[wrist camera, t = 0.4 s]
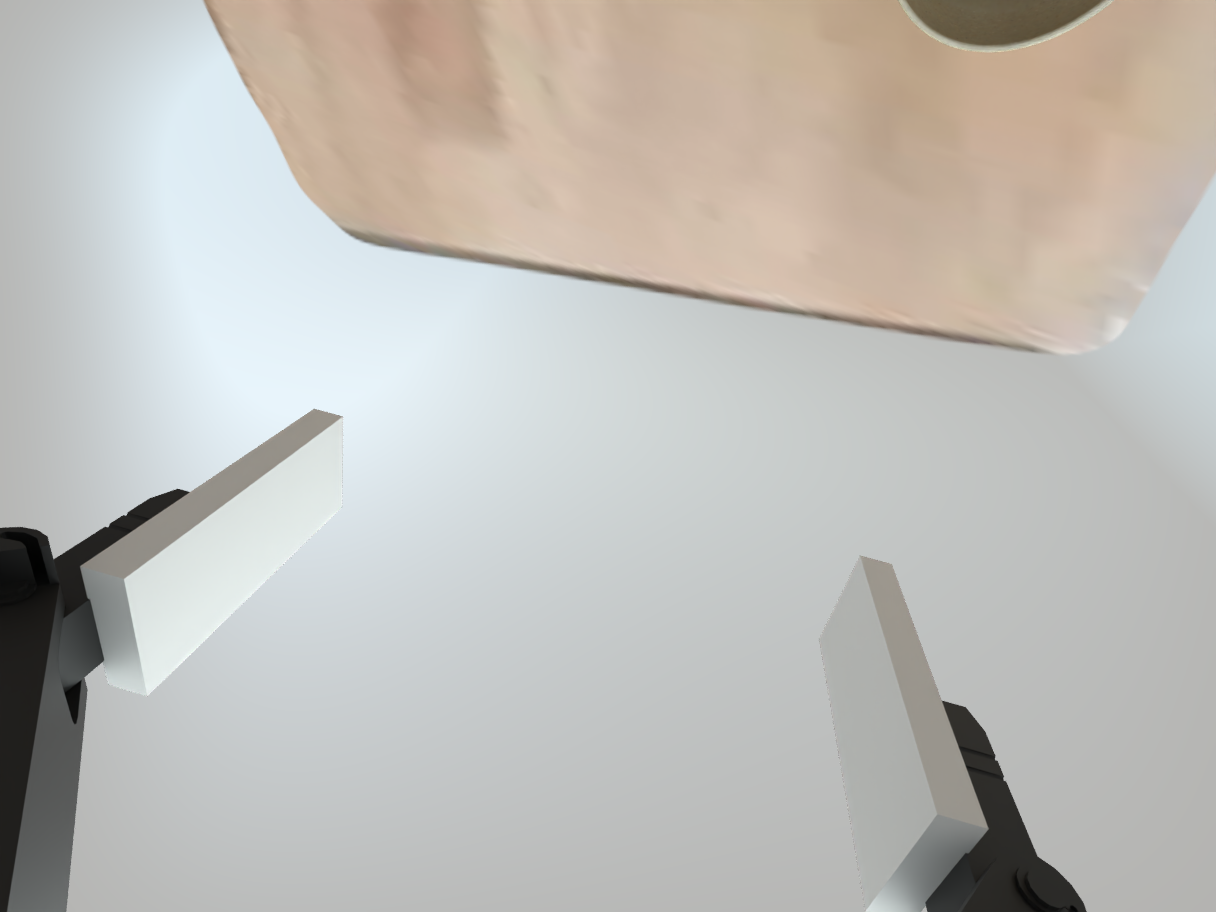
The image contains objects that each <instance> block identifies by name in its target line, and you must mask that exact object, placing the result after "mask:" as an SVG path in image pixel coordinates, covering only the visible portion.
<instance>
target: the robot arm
mask: <svg viewBox="0 0 1216 912" xmlns="http://www.w3.org/2000/svg"><path fill="white" fill-rule="evenodd" d="M342 462H343V417H342V416H339V415H335V414H331V413H328V412H324V411H320V410H316V409H313V410H312V411H310V412H309V413H307V414H306V415H304V416H303V417H301V418H300V419H298V420H297V421H295V422H294V423H292V424H291V425H290V426H288V427H287V428H285V429H284V430H282V431H281V432H279V433H278V434H276V435H275V436H273V437H272V438H270V439H269V440H267V441H266V442H264V443H263V444H261V445H260V446H258V447H257V448H256V449H254V450H252V451H251V452H249V453H248V454H246V455H245V456H244V457H242V458H240V459H239V460H238V461H236V462H235V463H233V464H232V465H230V466H229V467H227V468H226V469H224V470H223V471H221V472H220V473H218V474H217V475H216V476H214V477H212V478H211V479H209V480H208V481H206V482H205V483H203V484H202V485H200V486H199V487H197V488H196V489H194V490H193V491H191V492H187V491H184V490H180V489H176V490H173V491H170V492H167V493H164V494H161V495H158V496H155V497H153V498H150V499H148V500H147V501H145V502H143V503H142V504H140V505H139V506H137V507H135V508H134V509H132V510H131V511H129V512H128V514H127V515H126V516H124V515H123V516H121V517H120V518H118V519H117V520H115V521H113V522H112V523H110V525H109V527H104V528H103V529H101V530H99V531H98V532H96V533H95V534H93V535H91V536H90V537H88V538H87V539H85V540H84V541H82V542H81V543H79V544H77V545H76V546H74V547H73V548H71V549H69V550H68V551H66V552H65V553H63V554H62V555H60V556H58V557H57V558H55V559H54V560H53V556H52V552H51V548H50V545H49V541H48V537H47V536H46V535H44V534H42V533H41V532H40V531H38V530H34V529H28V528H23V527H9V528H0V912H66V908H67V898H68V887H69V875H70V865H71V855H72V845H73V834H74V825H75V813H76V804H77V793H78V782H79V772H80V761H81V751H82V741H83V731H84V720H85V710H86V699H87V686H86V682H85V678H84V677H85V676H86V675H88V674H89V673H90V672H91V671H92V670H93V669H95V668H96V667H97V666H98V665H99V664H101V663H102V662H103V665H104V669H105V673H106V678H107V682H108V685H111V686H114V687H118V688H121V689H124V690H128V691H131V692H134V693H138V694H141V695H144V696H148V695H149V694H150V693H151V692H152V691H153V690H154V689H155V688H156V687H158V685H159V684H161V683H162V682H163V681H164V679H166V678H167V677H168V676H169V675H170V674H171V673H172V672H173V671H174V670H175V669H176V668H177V667H178V666H179V665H180V664H181V663H182V662H183V661H184V660H185V659H186V658H187V657H188V656H189V655H190V654H192V653H193V652H194V651H195V650H196V649H197V648H198V647H199V645H201V644H202V643H203V642H204V641H205V640H206V639H207V638H208V637H209V636H210V635H211V634H212V633H213V632H214V631H215V630H216V629H217V628H218V627H219V626H220V625H221V624H222V623H223V622H224V621H225V620H226V619H227V618H228V617H230V615H232V613H234V612H235V611H236V610H237V609H238V608H239V607H240V606H241V605H242V604H243V603H244V602H245V601H246V600H247V599H248V598H249V597H250V596H251V595H252V594H253V593H254V592H255V591H256V590H257V589H258V588H259V587H260V586H261V585H262V584H263V583H264V582H266V581H267V580H268V579H269V578H270V577H271V576H272V575H273V574H274V573H275V572H276V571H277V570H278V569H279V568H280V567H281V566H282V565H283V564H284V563H285V562H286V561H287V560H288V559H289V558H290V557H291V556H292V555H293V554H294V553H295V552H296V551H297V550H298V549H299V548H301V547H302V546H303V545H304V544H305V543H306V542H307V541H308V540H309V539H310V538H311V537H312V536H313V535H314V534H315V533H316V532H317V531H318V530H319V529H320V528H321V527H322V526H323V525H324V524H325V523H326V522H327V521H328V520H329V519H330V518H331V517H332V516H333V515H334V514H335V513H337V511H339V510H340V509H341V508H342V473H343V470H342V468H343V467H342V466H343V463H342ZM819 642H820V648H821V654H822V660H823V665H824V671H825V677H826V683H827V689H828V695H829V700H830V707H831V712H832V718H833V724H834V730H835V736H836V742H837V747H838V753H839V759H840V765H841V771H842V777H843V783H844V788H845V795H846V800H847V806H848V811H849V818H850V824H851V830H852V835H853V842H854V847H855V853H856V859H857V865H858V871H859V877H860V883H861V889H862V894H863V900H864V906H865V911H866V912H921V911H922V910H923V908H924V907H925V906H926V908H927V911H928V912H1086V909H1085V906H1084V903H1083V901H1082V900H1081V899H1080V897H1079V896H1078V894H1077V893H1076V891H1075V890H1074V888H1073V887H1072V885H1071V884H1070V883H1069V882H1068V881H1067V880H1066V879H1065V878H1064V877H1063V876H1062V875H1061V874H1060V873H1059V872H1058V871H1057V870H1056V869H1055V868H1053V867H1052V866H1051V865H1049V864H1048V863H1046V862H1045V861H1043V860H1042V859H1040V858H1039V857H1037V854H1036V852H1035V849H1034V847H1033V845H1032V842H1031V840H1030V838H1029V835H1028V833H1027V830H1026V828H1025V825H1024V823H1023V821H1022V818H1021V816H1020V814H1019V811H1018V809H1017V806H1016V804H1015V802H1014V799H1013V797H1012V795H1011V792H1010V790H1009V787H1008V785H1007V783H1006V781H1003V777H1004V776H1003V773H1002V771H1001V768H1000V766H999V763H998V761H995V754H994V752H993V749H992V747H991V744H990V742H989V740H988V737H987V735H986V732H985V731H984V730H983V728H982V727H981V726H980V725H979V723H978V722H977V721H976V720H975V718H974V717H973V716H972V715H971V713H970V712H969V711H968V710H967V708H966V707H963V706H959V705H955V704H952V703H949V702H945V701H942V700H941V698H940V695H939V692H938V689H937V687H936V684H935V681H934V679H933V676H932V673H931V671H930V668H929V665H928V662H927V660H926V657H925V654H924V651H923V648H922V646H921V643H920V640H919V638H918V635H917V632H916V630H915V627H914V624H913V621H912V618H911V616H910V613H909V610H908V608H907V605H906V602H905V599H904V597H903V594H902V591H901V588H900V586H899V583H898V580H897V578H896V575H895V572H894V569H893V566H892V564H889V563H886V562H882V561H878V560H874V559H871V558H867V557H863V556H860V557H859V559H858V561H857V563H856V565H855V567H854V569H853V571H852V573H851V575H850V577H849V579H848V581H847V583H846V585H845V587H844V590H843V591H842V593H841V595H840V597H839V599H838V602H837V604H836V606H835V608H834V610H833V612H832V614H831V616H830V618H829V620H828V622H827V624H826V626H825V628H824V630H823V632H822V634H821V636H820V638H819Z"/></svg>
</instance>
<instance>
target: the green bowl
mask: <svg viewBox="0 0 1216 912" xmlns="http://www.w3.org/2000/svg"><path fill="white" fill-rule="evenodd" d="M898 1H899V3H900V5H901V6H902V8H903V10H904V11H905V13H906V14H907V15H908V17H909V18H910V19H911V20H912V21H913V22H914V24H915V25H916V26H917V27H919V28H920V29H921V30H922V31H923V32H924V33H926V34H927V35H929V36H930V37H932V38H934V39H935V40H937V41H939V42H941V43H943V44H945V45H948V46H951V47H954V48H958V49H963V50H967V51H975V52H1003V51H1010V50H1016V49H1021V48H1025V47H1029V46H1032V45H1035V44H1038V43H1041V42H1044V41H1047V40H1049V39H1052V38H1055V37H1057V36H1059V35H1061V34H1063V33H1065V32H1067V31H1069V30H1071V29H1073V28H1074V27H1076V26H1078V25H1080V24H1082V23H1083V22H1085V21H1086V20H1088V19H1089V18H1091V17H1093V16H1094V15H1096V14H1097V13H1098V12H1100V11H1101V10H1103V9H1104V8H1105V7H1107V6H1108V5H1109V4H1110V3H1112V2H1113V1H1114V0H898Z"/></svg>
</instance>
